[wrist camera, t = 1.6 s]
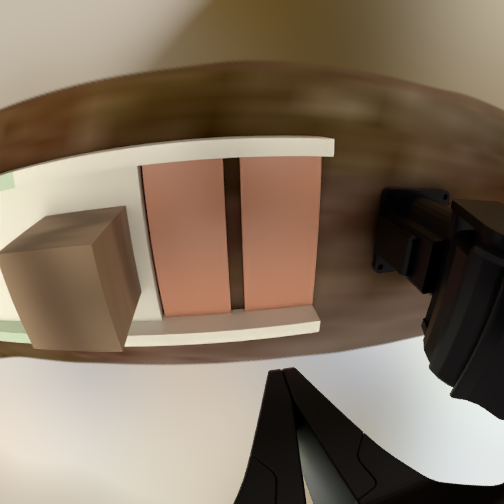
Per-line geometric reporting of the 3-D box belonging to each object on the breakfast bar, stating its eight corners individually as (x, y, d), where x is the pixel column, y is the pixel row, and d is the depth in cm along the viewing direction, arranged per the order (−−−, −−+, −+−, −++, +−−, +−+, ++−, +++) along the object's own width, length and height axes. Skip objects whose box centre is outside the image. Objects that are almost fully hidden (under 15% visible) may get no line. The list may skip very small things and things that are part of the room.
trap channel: (319, 136, 18) (334, 139, 15) (309, 312, 23) (318, 331, 21) (-55, 192, 14) (-72, 200, 12) (-13, 322, 20) (-24, 337, 18)
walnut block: (125, 205, 17) (91, 244, 12) (141, 291, 19) (122, 351, 14) (45, 216, 16) (-5, 254, 11) (67, 294, 19) (33, 348, 13)
